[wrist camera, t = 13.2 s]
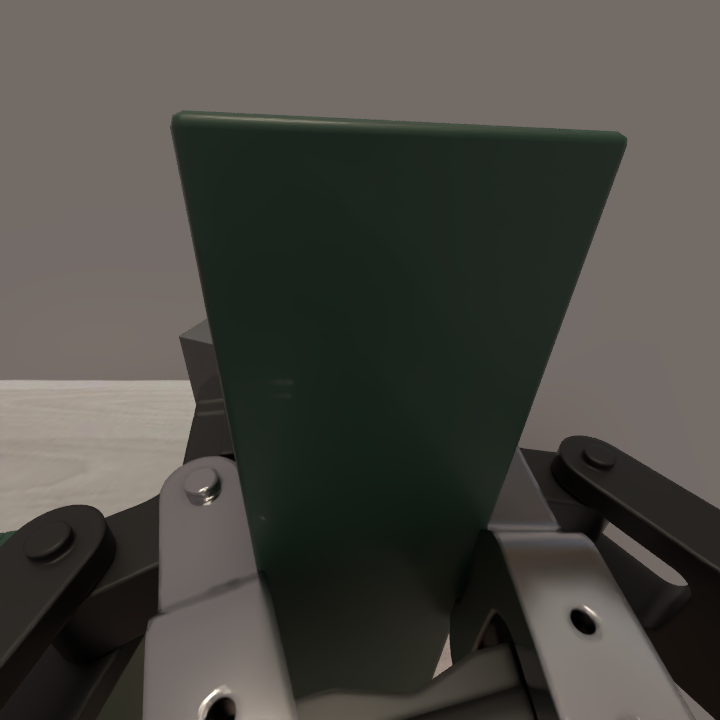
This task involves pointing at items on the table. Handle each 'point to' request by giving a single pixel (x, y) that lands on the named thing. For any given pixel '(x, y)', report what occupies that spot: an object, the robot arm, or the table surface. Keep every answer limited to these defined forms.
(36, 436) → the table surface
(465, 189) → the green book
